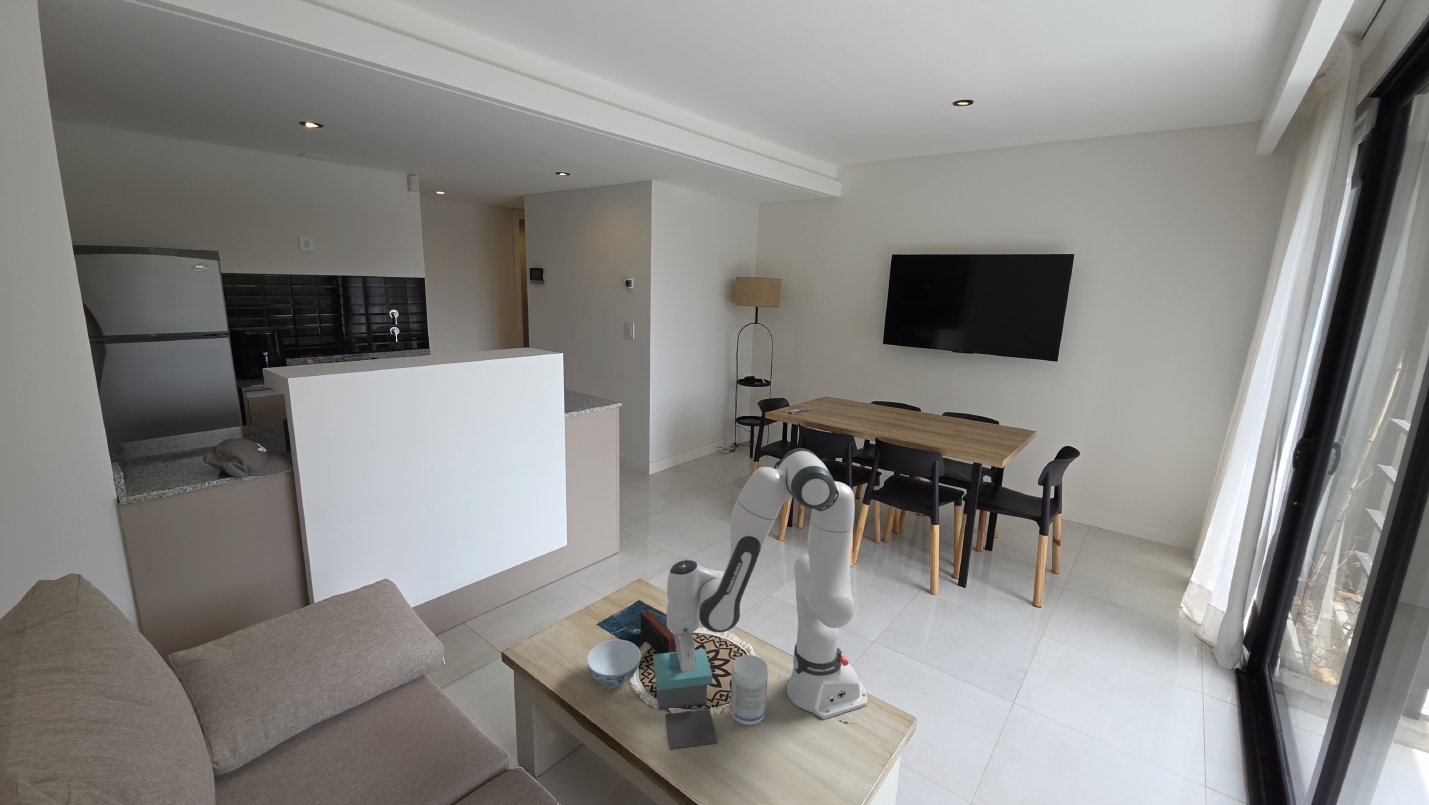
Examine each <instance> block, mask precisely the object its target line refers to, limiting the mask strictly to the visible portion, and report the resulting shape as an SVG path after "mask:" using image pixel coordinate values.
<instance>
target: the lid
mask: <svg viewBox="0 0 1429 805" xmlns="http://www.w3.org/2000/svg"><path fill="white" fill-rule="evenodd" d="M652 657H653V658H652V659H653V662H652V664H653V669H654V670H653V671H654V678H655V686H656V685H657V690H666V689H674V688H682V687H690V686H699V685H707V686H708V685H712V684H713V674H712V673H713V672H712V669H711V665H710V661H709V658H708V655H707V651H706V648H702V649H701V648H700V649H695V669H694V671H691V672H681V669H680V664H679V659H678V654H677V651H676V652H672V653H662V654H658V653H654V654H653V656H652Z"/></svg>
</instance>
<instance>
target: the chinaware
mask: <svg viewBox="0 0 1429 805" xmlns="http://www.w3.org/2000/svg"><path fill="white" fill-rule="evenodd" d="M641 656H642V654H641V651H640V649H639V647H638V646H637V645H636V644H635V643H633V642H631V641H628V640H625V639H609V640H605V641H602V642H600V643H598V644H596V645H595V646H593V648H591V650H590V651H589V652H588V654H587V657H586V662H587V666H588V670H589V672H590V674H591V675H592V677H593V678H594V679H595V681H597V682H598V683H599V684H601V685H604V686H605V687H607V688H611V689H614V688H616V689H617V688H619V687H620V686H623V685H624V684H625V683H626V682H628V681H629V680H631V678H632V677H633V676H634V675H635V673H636V672H637V670H638V668H639V665H640V663H641V662H640V661H641Z"/></svg>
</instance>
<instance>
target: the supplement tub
mask: <svg viewBox="0 0 1429 805" xmlns="http://www.w3.org/2000/svg"><path fill="white" fill-rule="evenodd" d="M768 672H769V671H768V665H767V663H766V661H765V660H764V659H762V658H761V657H759V656H757V655H752V654H745V655H741V656H738V657H737V658H736V659H735V660H734V661H733V663H732V667H731V679H730V680H731V683H730V684H731V686H730V710H729V711H730V715H731V716H732V718H733V719H734V720H735V721H737V723H740V724H742V725H745V726H753V725H757V724H759V723H761V722H762V720H764V718H765V717H766V711H767V692H768V678H769V676H768V675H769V673H768Z"/></svg>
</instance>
